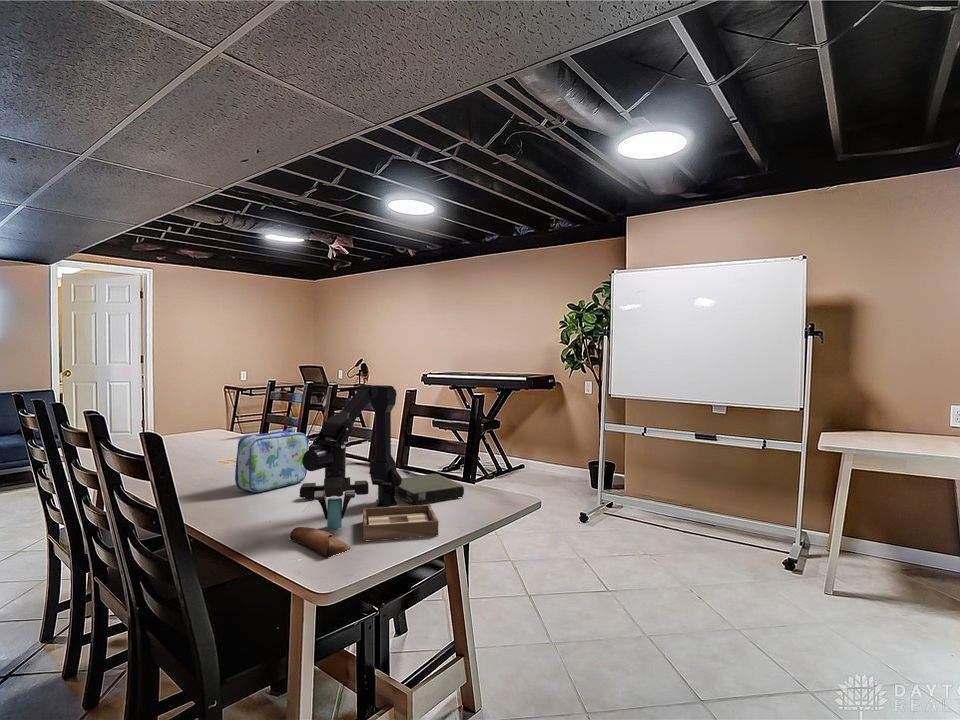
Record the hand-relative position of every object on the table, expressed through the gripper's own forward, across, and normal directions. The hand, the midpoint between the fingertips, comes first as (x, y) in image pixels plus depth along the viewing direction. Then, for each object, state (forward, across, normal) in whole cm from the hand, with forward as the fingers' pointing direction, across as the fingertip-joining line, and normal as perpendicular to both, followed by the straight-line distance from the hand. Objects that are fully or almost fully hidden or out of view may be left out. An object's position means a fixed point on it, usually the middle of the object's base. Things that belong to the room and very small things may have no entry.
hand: (334, 518), depth 142 cm
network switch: (+3, +30, +29) cm, 42 cm away
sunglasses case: (+3, -3, -13) cm, 14 cm away
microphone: (+3, -4, +36) cm, 37 cm away
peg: (+2, 0, 0) cm, 2 cm away
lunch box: (+3, -24, +51) cm, 56 cm away
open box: (+2, +18, -5) cm, 19 cm away
